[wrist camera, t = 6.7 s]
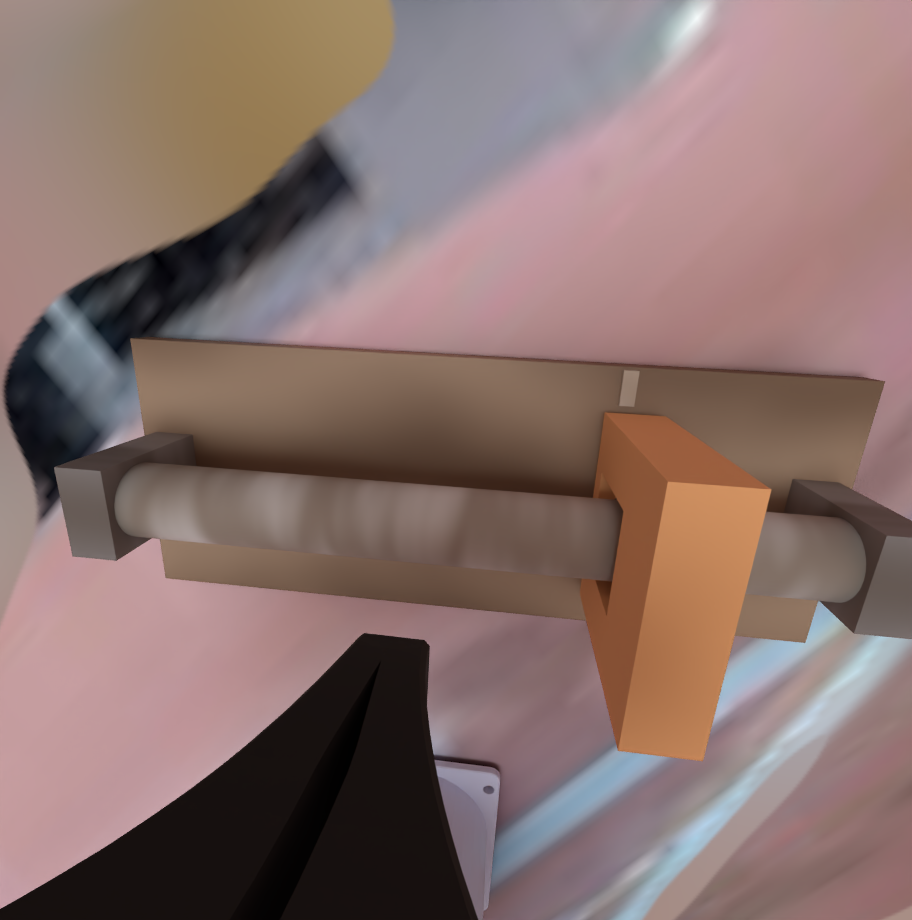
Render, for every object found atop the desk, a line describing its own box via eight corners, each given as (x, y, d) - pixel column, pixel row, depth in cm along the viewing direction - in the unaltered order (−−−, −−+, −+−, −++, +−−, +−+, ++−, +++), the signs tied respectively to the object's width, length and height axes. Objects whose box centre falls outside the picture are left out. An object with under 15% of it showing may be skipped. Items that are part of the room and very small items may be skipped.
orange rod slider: (633, 598, 19) (702, 761, 12) (579, 593, 19) (617, 750, 12) (665, 416, 16) (770, 489, 10) (604, 412, 17) (668, 481, 10)
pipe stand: (791, 626, 20) (891, 740, 15) (180, 566, 22) (78, 646, 17) (863, 377, 17) (1022, 408, 12) (149, 337, 19) (12, 347, 14)
